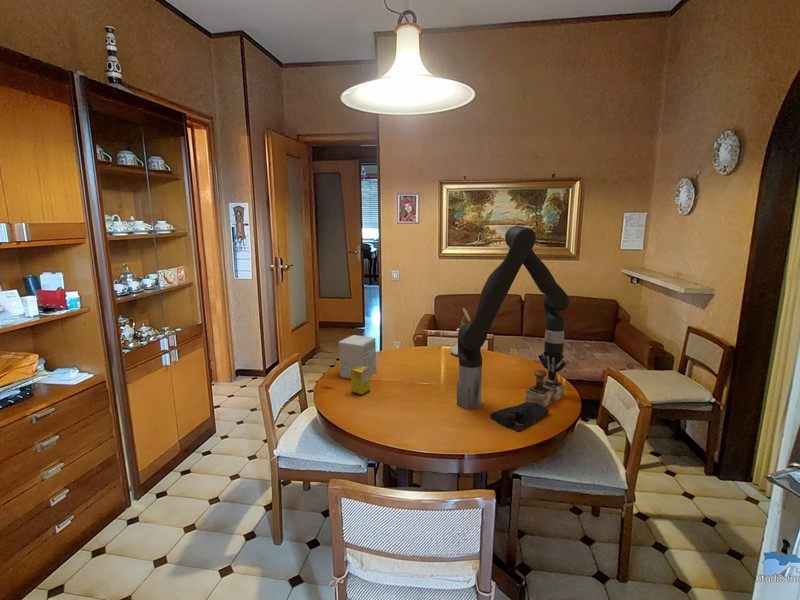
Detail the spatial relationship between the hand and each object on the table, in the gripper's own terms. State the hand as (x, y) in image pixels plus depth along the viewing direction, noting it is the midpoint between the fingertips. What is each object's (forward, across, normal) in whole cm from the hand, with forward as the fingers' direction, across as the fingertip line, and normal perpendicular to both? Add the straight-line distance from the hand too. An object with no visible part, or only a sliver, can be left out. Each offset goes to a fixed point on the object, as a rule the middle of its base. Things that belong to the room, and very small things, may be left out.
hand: (551, 379), depth 182 cm
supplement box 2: (+7, -56, -59) cm, 82 cm away
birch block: (+7, 0, -4) cm, 9 cm away
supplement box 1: (+7, -74, -48) cm, 89 cm away
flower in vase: (+8, -62, +11) cm, 63 cm away
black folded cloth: (+8, +3, -25) cm, 27 cm away
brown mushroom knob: (+7, 0, 0) cm, 7 cm away
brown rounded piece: (+1, 0, -9) cm, 9 cm away
